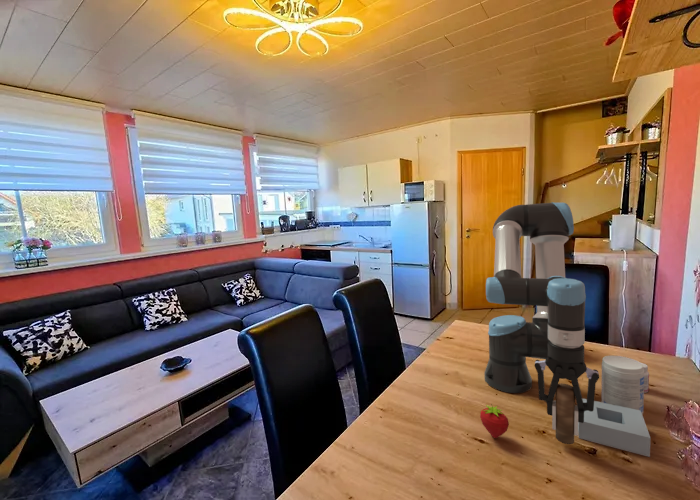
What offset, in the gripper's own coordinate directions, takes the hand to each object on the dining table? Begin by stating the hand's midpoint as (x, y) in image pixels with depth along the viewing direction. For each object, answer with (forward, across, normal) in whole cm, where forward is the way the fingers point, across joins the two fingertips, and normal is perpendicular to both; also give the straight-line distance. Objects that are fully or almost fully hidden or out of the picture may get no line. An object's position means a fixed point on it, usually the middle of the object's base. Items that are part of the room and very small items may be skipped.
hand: (564, 429), depth 82 cm
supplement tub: (+6, +14, +25) cm, 30 cm away
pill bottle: (+6, +20, +40) cm, 45 cm away
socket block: (+5, +10, +11) cm, 16 cm away
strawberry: (+5, -16, -5) cm, 17 cm away
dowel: (+3, 0, 0) cm, 3 cm away
